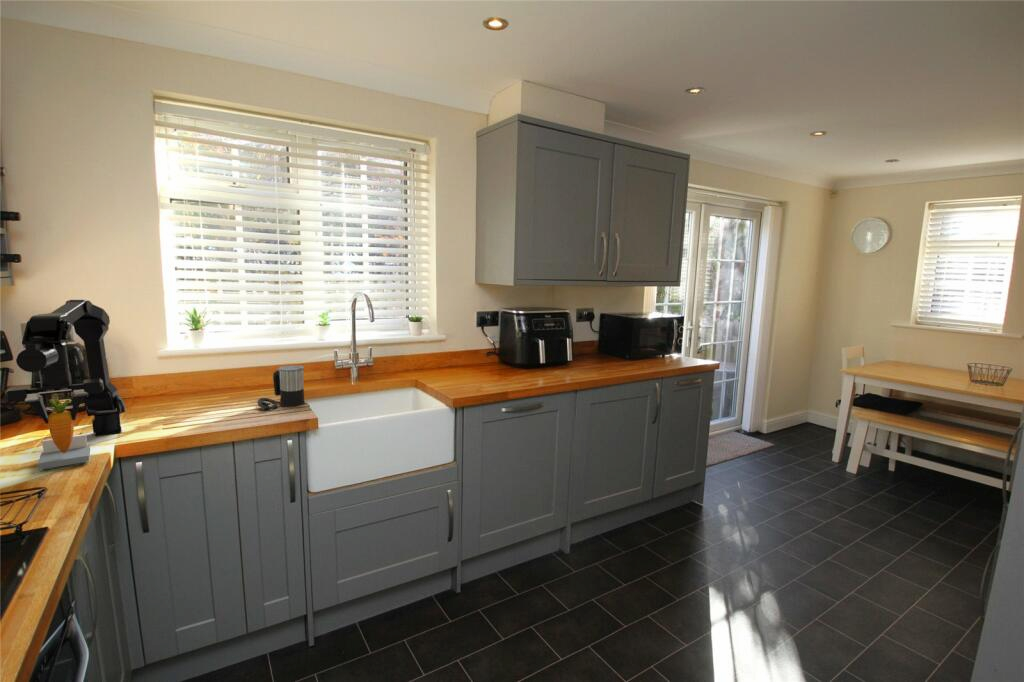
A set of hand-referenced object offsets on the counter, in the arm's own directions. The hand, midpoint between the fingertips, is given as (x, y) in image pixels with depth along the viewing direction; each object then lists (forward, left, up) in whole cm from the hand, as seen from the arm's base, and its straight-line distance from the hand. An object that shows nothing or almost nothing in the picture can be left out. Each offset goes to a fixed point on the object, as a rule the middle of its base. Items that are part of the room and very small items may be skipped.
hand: (60, 421), depth 131 cm
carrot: (0, 0, -9) cm, 9 cm away
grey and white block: (0, -3, -12) cm, 13 cm away
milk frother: (-62, -30, -13) cm, 70 cm away
